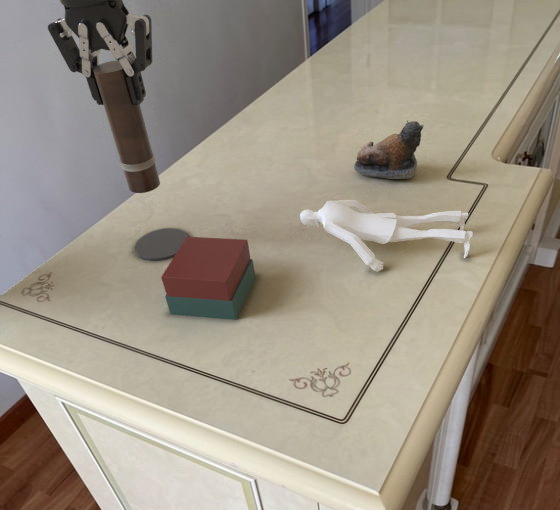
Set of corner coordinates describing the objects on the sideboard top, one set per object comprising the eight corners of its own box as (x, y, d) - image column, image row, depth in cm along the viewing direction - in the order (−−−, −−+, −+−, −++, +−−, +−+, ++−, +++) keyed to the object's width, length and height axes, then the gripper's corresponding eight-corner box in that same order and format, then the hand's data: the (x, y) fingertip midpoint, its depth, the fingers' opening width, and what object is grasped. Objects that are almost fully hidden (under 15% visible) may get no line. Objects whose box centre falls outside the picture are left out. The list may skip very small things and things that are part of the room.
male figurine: (454, 232, 95) (301, 216, 96) (465, 197, 91) (304, 181, 91) (464, 283, 86) (294, 265, 86) (477, 247, 81) (297, 229, 82)
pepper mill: (143, 100, 92) (88, 47, 77) (173, 100, 90) (123, 46, 76) (133, 198, 92) (77, 165, 77) (163, 200, 91) (111, 166, 76)
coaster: (124, 253, 97) (123, 250, 97) (160, 226, 102) (160, 223, 102) (164, 267, 93) (163, 264, 93) (200, 238, 98) (199, 235, 98)
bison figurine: (349, 180, 107) (348, 124, 100) (363, 162, 111) (363, 108, 104) (413, 189, 102) (416, 132, 95) (425, 170, 106) (430, 114, 99)
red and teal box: (194, 273, 91) (184, 236, 86) (255, 277, 88) (249, 239, 84) (170, 314, 84) (158, 276, 80) (236, 320, 82) (228, 281, 77)
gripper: (9, -35, 68) (62, 114, 80) (120, -43, 65) (158, 114, 77) (42, -49, 73) (88, 93, 85) (147, -57, 70) (178, 91, 82)
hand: (121, 102), depth 81 cm, fingers closed on pepper mill, 5 cm apart
